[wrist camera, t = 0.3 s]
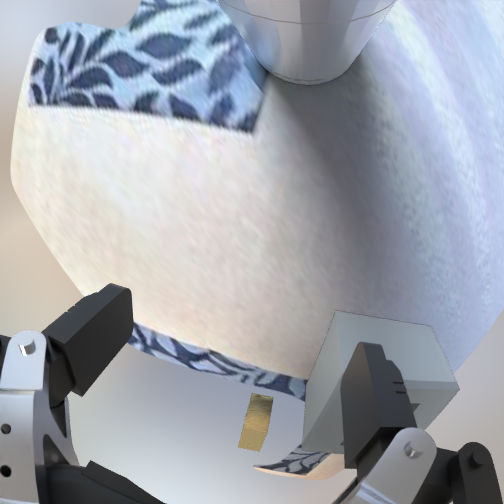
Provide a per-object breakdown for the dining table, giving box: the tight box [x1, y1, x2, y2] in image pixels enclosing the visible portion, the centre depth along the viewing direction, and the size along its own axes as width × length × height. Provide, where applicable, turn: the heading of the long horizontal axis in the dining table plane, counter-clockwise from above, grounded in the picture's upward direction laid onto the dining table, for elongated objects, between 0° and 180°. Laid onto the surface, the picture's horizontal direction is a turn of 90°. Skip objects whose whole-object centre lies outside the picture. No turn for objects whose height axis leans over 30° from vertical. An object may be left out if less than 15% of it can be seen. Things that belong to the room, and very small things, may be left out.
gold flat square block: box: [238, 393, 273, 451], centre depth 34 cm, size 6×3×6 cm, turn 172°
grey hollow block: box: [302, 310, 460, 454], centre depth 26 cm, size 12×12×10 cm
